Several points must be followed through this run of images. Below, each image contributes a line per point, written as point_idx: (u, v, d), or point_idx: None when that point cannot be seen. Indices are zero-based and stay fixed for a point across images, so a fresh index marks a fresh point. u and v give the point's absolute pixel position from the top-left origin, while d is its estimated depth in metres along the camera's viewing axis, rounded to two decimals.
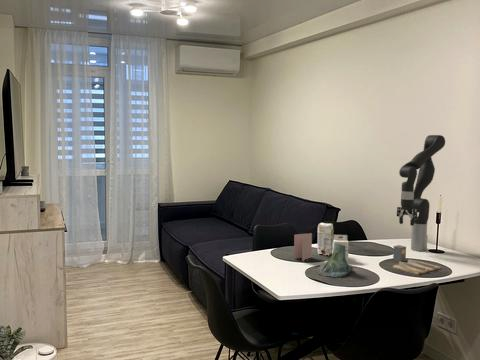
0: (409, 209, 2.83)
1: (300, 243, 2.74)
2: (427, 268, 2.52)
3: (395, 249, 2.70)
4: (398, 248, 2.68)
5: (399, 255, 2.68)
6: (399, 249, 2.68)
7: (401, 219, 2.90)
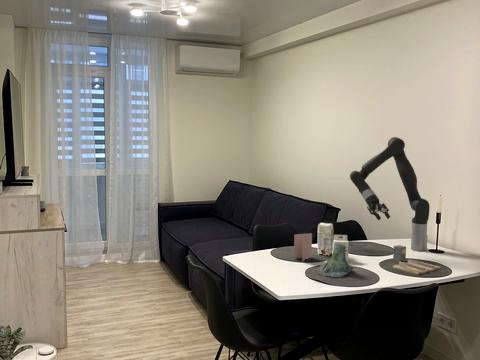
0: None
1: (300, 243, 2.74)
2: (427, 268, 2.52)
3: (395, 249, 2.70)
4: (398, 248, 2.68)
5: (399, 255, 2.68)
6: (399, 249, 2.68)
7: (386, 214, 2.82)
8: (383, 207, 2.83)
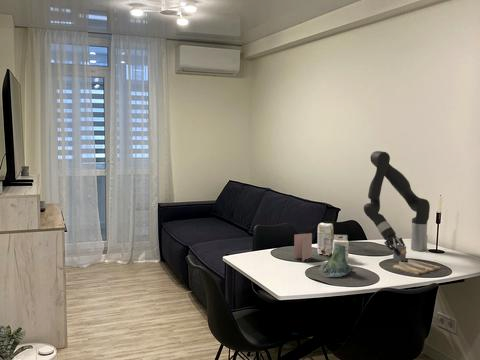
0: None
1: (300, 243, 2.74)
2: (427, 268, 2.52)
3: None
4: (398, 248, 2.68)
5: (399, 255, 2.68)
6: (399, 249, 2.68)
7: None
8: (399, 241, 2.73)
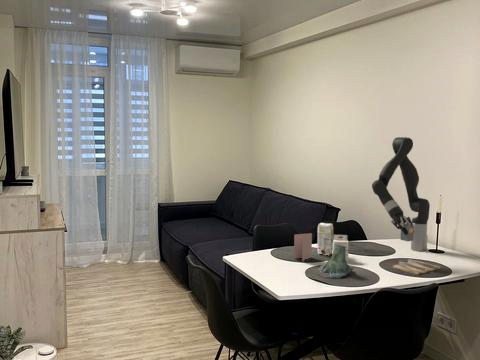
0: None
1: (300, 243, 2.74)
2: (427, 268, 2.52)
3: None
4: (406, 227, 2.59)
5: (407, 234, 2.59)
6: (407, 228, 2.59)
7: None
8: (407, 220, 2.64)
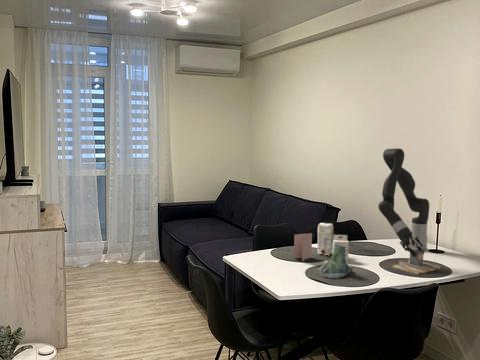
0: None
1: (300, 243, 2.74)
2: (427, 268, 2.52)
3: None
4: None
5: (416, 260, 2.53)
6: None
7: (419, 250, 2.57)
8: (416, 242, 2.58)
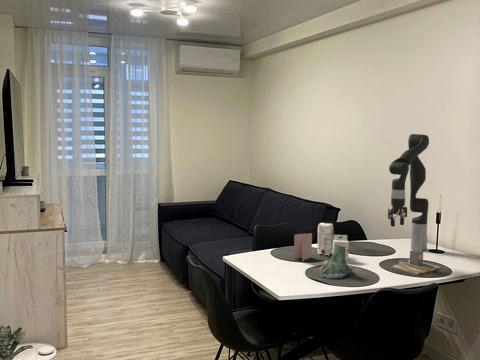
0: None
1: (300, 243, 2.74)
2: (427, 268, 2.52)
3: (412, 254, 2.55)
4: (415, 253, 2.53)
5: (416, 260, 2.53)
6: (416, 254, 2.52)
7: (401, 220, 2.67)
8: (403, 213, 2.64)
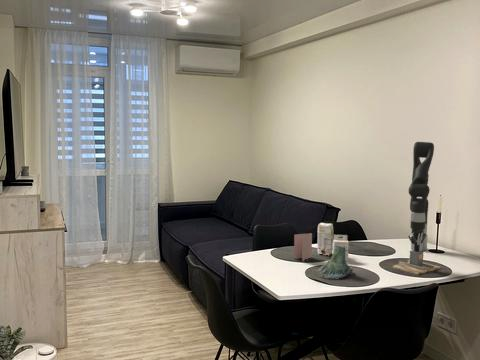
0: None
1: (300, 243, 2.74)
2: (427, 268, 2.52)
3: (412, 254, 2.55)
4: (415, 253, 2.53)
5: (416, 260, 2.53)
6: (416, 254, 2.52)
7: None
8: (421, 238, 2.54)
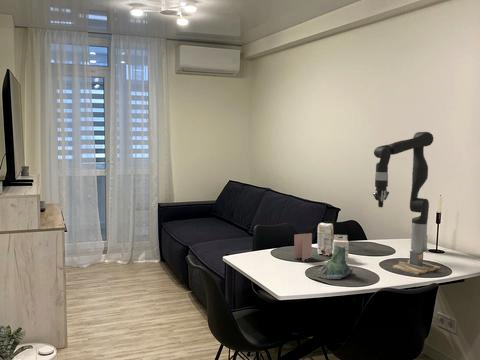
0: None
1: (300, 243, 2.74)
2: (427, 268, 2.52)
3: (412, 254, 2.55)
4: (415, 253, 2.53)
5: (416, 260, 2.53)
6: (416, 254, 2.52)
7: None
8: (384, 195, 2.84)
